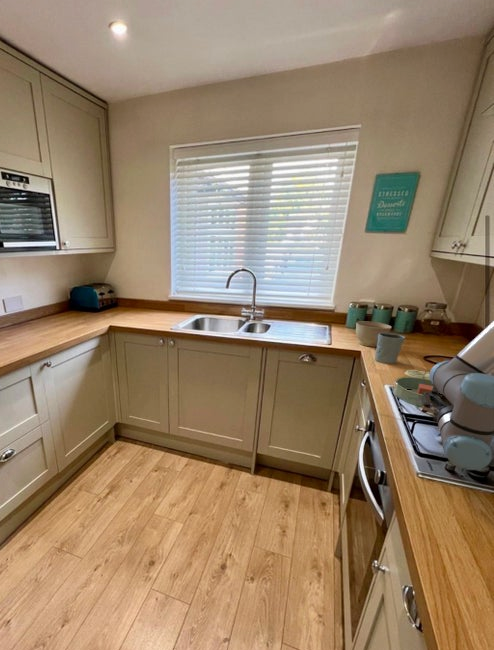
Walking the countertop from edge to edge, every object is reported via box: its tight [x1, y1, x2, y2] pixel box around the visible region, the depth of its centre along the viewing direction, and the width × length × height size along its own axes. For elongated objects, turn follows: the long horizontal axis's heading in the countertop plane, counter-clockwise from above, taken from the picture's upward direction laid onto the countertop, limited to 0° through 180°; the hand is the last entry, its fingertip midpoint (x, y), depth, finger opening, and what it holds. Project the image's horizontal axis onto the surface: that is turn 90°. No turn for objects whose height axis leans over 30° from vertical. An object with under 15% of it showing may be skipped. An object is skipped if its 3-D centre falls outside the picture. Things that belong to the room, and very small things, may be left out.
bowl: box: [392, 376, 454, 408], centre depth 112 cm, size 18×18×4 cm
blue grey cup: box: [374, 332, 406, 365], centre depth 149 cm, size 10×10×12 cm
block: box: [417, 384, 433, 395], centre depth 111 cm, size 4×4×4 cm
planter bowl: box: [355, 320, 392, 348], centre depth 174 cm, size 16×16×11 cm
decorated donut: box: [403, 369, 430, 380], centre depth 127 cm, size 10×11×4 cm
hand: (445, 391), depth 99 cm, fingers open, 5 cm apart
